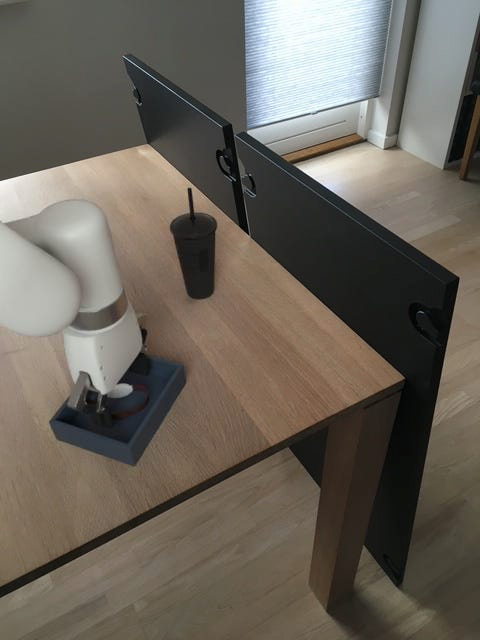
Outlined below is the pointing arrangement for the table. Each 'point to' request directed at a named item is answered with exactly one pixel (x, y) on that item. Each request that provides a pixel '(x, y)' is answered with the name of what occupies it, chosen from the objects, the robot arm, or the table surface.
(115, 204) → the table surface
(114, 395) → the watch
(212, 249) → the drinking cup
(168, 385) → the tray
